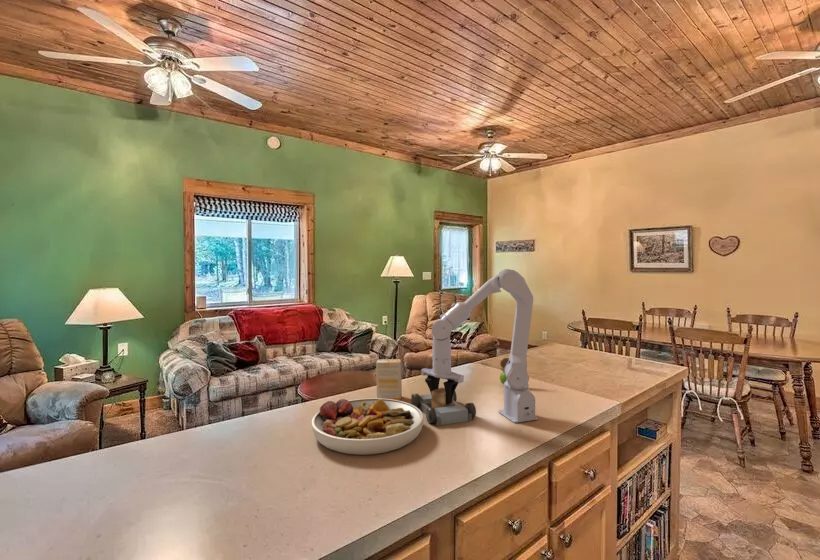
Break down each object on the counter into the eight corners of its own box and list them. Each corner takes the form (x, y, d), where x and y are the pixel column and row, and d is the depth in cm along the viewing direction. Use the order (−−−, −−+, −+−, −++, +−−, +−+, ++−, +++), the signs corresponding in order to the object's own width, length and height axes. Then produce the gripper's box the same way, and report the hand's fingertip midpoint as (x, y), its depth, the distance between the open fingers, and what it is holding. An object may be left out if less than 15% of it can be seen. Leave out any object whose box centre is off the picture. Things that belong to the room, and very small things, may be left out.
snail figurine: (518, 387, 151) (518, 355, 150) (501, 387, 151) (501, 355, 151) (515, 383, 156) (515, 351, 156) (498, 383, 156) (498, 352, 156)
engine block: (453, 405, 128) (453, 389, 128) (443, 410, 124) (443, 394, 123) (441, 402, 131) (441, 387, 131) (431, 407, 126) (431, 391, 126)
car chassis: (476, 420, 120) (476, 405, 120) (431, 426, 116) (431, 411, 116) (450, 399, 138) (450, 387, 138) (410, 404, 134) (410, 391, 134)
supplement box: (402, 396, 142) (401, 358, 142) (400, 400, 138) (400, 362, 137) (378, 395, 143) (378, 358, 143) (376, 400, 138) (375, 361, 138)
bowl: (434, 419, 122) (433, 392, 122) (406, 467, 93) (405, 433, 93) (341, 410, 130) (341, 385, 130) (289, 452, 101) (288, 421, 101)
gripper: (468, 359, 125) (469, 402, 125) (430, 352, 134) (430, 393, 135) (456, 363, 119) (456, 409, 120) (417, 356, 128) (417, 399, 129)
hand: (442, 401), depth 127 cm, fingers closed on engine block, 4 cm apart
